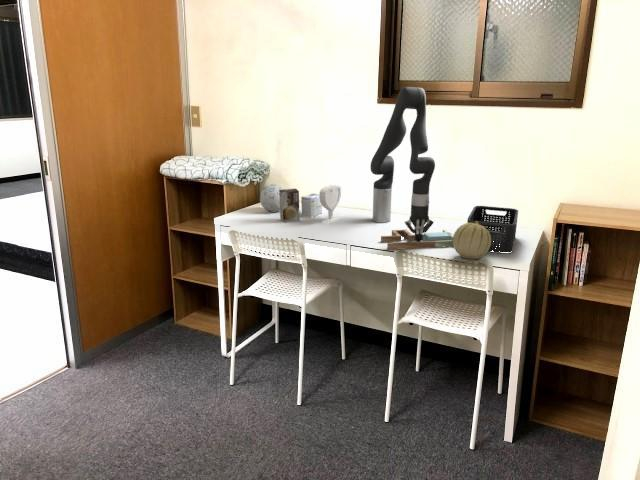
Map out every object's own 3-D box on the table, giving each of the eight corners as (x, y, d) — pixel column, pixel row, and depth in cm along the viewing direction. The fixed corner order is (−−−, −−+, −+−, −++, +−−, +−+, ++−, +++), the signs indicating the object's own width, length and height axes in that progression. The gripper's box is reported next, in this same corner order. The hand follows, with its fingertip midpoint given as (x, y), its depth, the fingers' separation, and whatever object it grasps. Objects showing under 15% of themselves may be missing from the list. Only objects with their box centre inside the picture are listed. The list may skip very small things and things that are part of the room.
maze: (376, 236, 235) (376, 227, 234) (438, 233, 239) (439, 224, 238) (388, 249, 216) (388, 240, 214) (456, 246, 220) (456, 237, 219)
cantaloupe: (448, 261, 202) (451, 224, 197) (454, 250, 215) (457, 216, 210) (487, 266, 196) (490, 228, 192) (491, 254, 209) (494, 219, 205)
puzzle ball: (289, 213, 277) (289, 186, 272) (262, 215, 273) (261, 188, 269) (284, 207, 291) (283, 181, 286) (258, 209, 287) (257, 183, 282)
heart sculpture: (326, 224, 256) (326, 189, 250) (318, 222, 258) (318, 188, 253) (342, 217, 268) (342, 184, 263) (334, 216, 271) (334, 183, 265)
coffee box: (296, 218, 267) (296, 188, 262) (299, 221, 261) (299, 190, 257) (279, 219, 265) (278, 189, 260) (282, 222, 259) (282, 191, 254)
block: (423, 242, 226) (423, 232, 225) (444, 241, 228) (445, 232, 226) (427, 246, 221) (428, 236, 219) (449, 245, 222) (450, 235, 221)
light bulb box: (312, 212, 280) (312, 192, 277) (322, 213, 277) (322, 194, 273) (301, 215, 272) (300, 196, 269) (311, 217, 268) (310, 197, 265)
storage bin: (511, 255, 209) (515, 224, 205) (463, 249, 216) (466, 219, 212) (515, 236, 234) (518, 208, 230) (472, 232, 241) (474, 205, 237)
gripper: (431, 200, 223) (429, 238, 228) (402, 202, 221) (400, 240, 226) (437, 204, 216) (435, 243, 221) (408, 206, 214) (406, 245, 219)
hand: (417, 241), depth 223 cm, fingers closed
